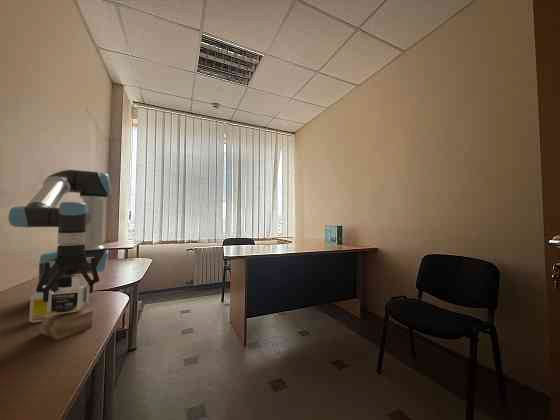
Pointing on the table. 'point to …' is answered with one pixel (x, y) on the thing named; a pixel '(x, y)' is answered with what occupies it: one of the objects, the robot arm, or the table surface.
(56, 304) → the medicine bottle
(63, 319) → the wooden block
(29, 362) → the table surface
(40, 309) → the supplement bottle
